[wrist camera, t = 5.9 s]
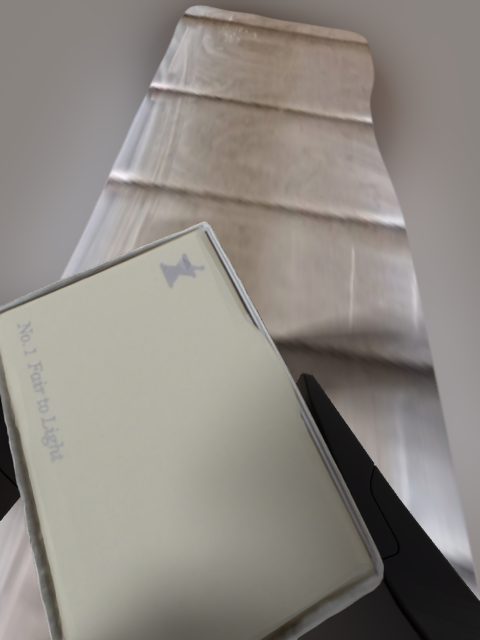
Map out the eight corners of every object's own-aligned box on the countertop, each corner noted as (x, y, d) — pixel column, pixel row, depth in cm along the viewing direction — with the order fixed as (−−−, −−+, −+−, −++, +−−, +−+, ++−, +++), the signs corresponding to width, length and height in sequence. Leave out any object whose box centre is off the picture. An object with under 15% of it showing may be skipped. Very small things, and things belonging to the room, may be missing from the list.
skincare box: (182, 353, 15) (-31, 301, 3) (235, 328, 16) (205, 205, 4) (215, 436, 14) (49, 819, 2) (272, 407, 14) (407, 594, 2)
